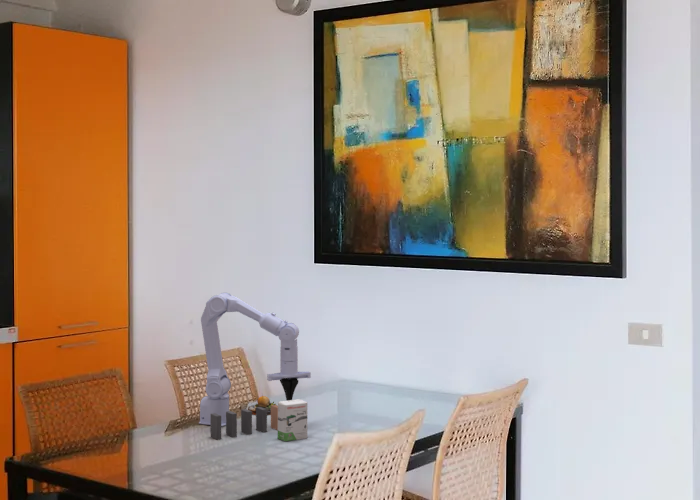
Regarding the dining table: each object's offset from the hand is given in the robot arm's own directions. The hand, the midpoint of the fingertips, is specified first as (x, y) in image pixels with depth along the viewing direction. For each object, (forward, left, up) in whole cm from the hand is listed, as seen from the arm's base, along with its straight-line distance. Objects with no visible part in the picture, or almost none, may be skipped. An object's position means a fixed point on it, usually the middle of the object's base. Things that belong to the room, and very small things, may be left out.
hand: (289, 400), depth 314 cm
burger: (-19, +15, -9) cm, 26 cm away
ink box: (+8, -13, -9) cm, 18 cm away
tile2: (-5, -9, -9) cm, 14 cm away
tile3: (-8, -14, -9) cm, 18 cm away
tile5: (-14, -23, -9) cm, 28 cm away
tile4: (-11, -19, -9) cm, 23 cm away
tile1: (-3, -4, -9) cm, 10 cm away
